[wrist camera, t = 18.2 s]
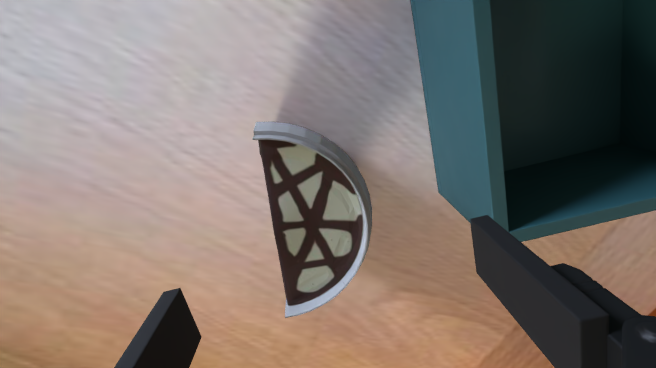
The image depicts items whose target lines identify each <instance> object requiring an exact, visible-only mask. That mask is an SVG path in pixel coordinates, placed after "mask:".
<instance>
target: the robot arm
mask: <svg viewBox="0 0 656 368" xmlns="http://www.w3.org/2000/svg"><path fill="white" fill-rule="evenodd" d="M470 223H471V231H472V239H473V247H474V255H475V264H476V272H477V274H478V275H479V276H480V277H481V278H482V280H483V281H484V282H485V283H486V285H487V286H488V287H489V288H490V289H491V291H492V292H493V293H494V294H495V295H496V297H497V298H498V299H499V300H500V302H501V303H502V304H503V305H504V306H505V308H506V309H507V310H508V311H509V312H510V314H511V315H512V316H513V317H514V319H515V320H516V321H517V322H518V323H519V325H520V326H521V327H522V328H523V330H524V331H525V332H526V333H527V334H528V336H529V337H530V338H531V339H532V340H533V342H534V343H535V344H536V345H537V347H538V348H539V349H540V350H541V351H542V353H543V354H544V355H545V356H546V357H547V359H548V360H549V361H550V362H551V364H552V365H553V366H554V367H555V368H656V317H655V316H645V315H640V314H639V313H638V312H636V311H635V310H634V309H632V308H631V307H630V306H628V305H627V304H626V303H624V302H623V301H622V300H620V299H619V298H618V297H616V296H615V295H613V294H612V293H611V292H609V291H608V290H607V289H605V288H603V287H602V286H601V285H600V284H599V283H597V282H596V281H593V280H592V278H591V277H589V276H588V275H586V274H585V273H584V272H582V271H581V270H580V269H577V268H575V267H572V266H569V265H567V264H564V263H562V264H558V265H554V266H549V265H548V264H547V263H546V262H544V261H543V260H542V259H541V258H539V257H538V256H537V255H536V254H535V253H533V252H532V251H531V250H530V249H528V248H527V247H526V246H525V245H524V244H522V243H521V242H520V241H519V240H517V239H516V238H515V237H514V236H513V235H511V234H510V233H509V232H508V231H506V230H505V229H504V228H503V227H502V226H500V225H499V224H498V223H497V222H495V221H494V220H493V219H492V218H491V217H489V216H488V215H484V216H480V217H476V218H472V219H470ZM200 339H201V335H200V332H199V330H198V328H197V326H196V323H195V321H194V319H193V316H192V314H191V312H190V309H189V307H188V305H187V302H186V300H185V298H184V296H183V293H182V291H181V289H180V288H178V289H174V290H170V291H166V292H163V294H162V295H161V297H160V298H159V300H158V301H157V303H156V305H155V306H154V308H153V309H152V311H151V312H150V314H149V315H148V317H147V318H146V320H145V321H144V323H143V324H142V326H141V327H140V329H139V331H138V332H137V334H136V335H135V337H134V338H133V340H132V341H131V343H130V344H129V346H128V347H127V349H126V350H125V352H124V353H123V355H122V357H121V358H120V360H119V361H118V363H117V364H116V366H115V367H114V368H189V367H190V364H191V362H192V359H193V357H194V354H195V352H196V349H197V347H198V344H199V342H200Z"/></svg>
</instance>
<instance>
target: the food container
mask: <svg viewBox="0 0 656 368" xmlns="http://www.w3.org/2000/svg"><path fill="white" fill-rule="evenodd" d="M253 140H258V141H259V147H260V155H261V158H262V162H263V167H264V173H265V179H266V185H267V191H268V197H269V203H270V209H271V216H272V222H273V229H274V235H275V239H276V244H277V249H278V254H279V260H280V265H281V271H282V277H283V282H284V288H285V293H286V309H285V318H287V317H292V316H297V315H301V314H304V313H307V312H309V311H312V310H314V309H316V308H318V307H320V306H322V305H324V304H326V303H327V302H329V301H330V300H331V299H333V298H334V297H336V296H337V295H338V294H339V293H340V292H341V291H342V290H343V289H344V288H345V287H346V286H347V285H348V284H349V282H350V281H351V280H352V278H353V277H354V276H355V274H356V273H357V271H358V269H359V268H360V266H361V264H362V262H363V260H364V258H365V255H366V252H367V249H368V246H369V241H370V235H371V227H372V206H371V200H370V194H369V192H368V189H367V186H366V183H365V180H364V179H363V177H362V175H361V173H360V171H359V170H358V168H357V166H356V165H355V164H354V163H353V161H352V160H351V159H350V158H349V156H348V155H347V154H346V153H345V152H344V151H343V150H341V149H340V148H339V147H338V146H337V145H336V144H335V143H333V142H332V141H330V140H328V139H327V138H325V137H324V136H322V135H320V134H318V133H316V132H314V131H311V130H309V129H307V128H304V127H300V126H297V125H293V124H289V123H280V122H256V125H255V128H254V137H253Z"/></svg>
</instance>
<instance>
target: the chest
mask: <svg viewBox="0 0 656 368" xmlns="http://www.w3.org/2000/svg"><path fill="white" fill-rule="evenodd" d="M410 1H411V8H412V15H413V21H414V28H415V35H416V42H417V49H418V56H419V62H420V69H421V76H422V83H423V90H424V96H425V103H426V110H427V117H428V124H429V130H430V137H431V144H432V151H433V158H434V164H435V171H436V178H437V185H438V192H439V193H440V194H441V195H442V196H443V197H444V198H445V199H446V200H447V201H448V202H449V203H450V204H451V205H452V206H453V207H454V208H455V209H456V210H457V211H458V212H459V213H460V214H461V215H462V216H464V217H465V218H466V219H467V220H468V221H469V222H470V219H472V218H476V217H480V216H484V215H488V216H489V217H491V218H492V219H493V220H494V221H495V222H497V223H498V224H499V225H500V226H502V227H503V228H504V229H505V230H506V231H508V232H509V233H510V234H511V235H513V236H514V237H515V238H516V239H517V240H519V241H520V242H523V241H527V240H532V239H536V238H540V237H544V236H548V235H553V234H557V233H561V232H565V231H570V230H574V229H578V228H582V227H586V226H591V225H595V224H599V223H603V222H608V221H612V220H616V219H620V218H625V217H629V216H633V215H637V214H641V213H646V212H650V211H654V210H656V0H410Z"/></svg>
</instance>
